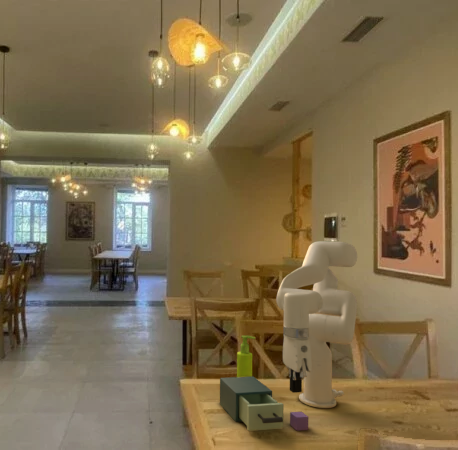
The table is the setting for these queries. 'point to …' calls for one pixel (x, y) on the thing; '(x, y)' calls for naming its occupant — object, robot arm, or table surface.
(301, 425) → the purple rounded cube
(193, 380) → the table surface
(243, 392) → the small teal cabinet
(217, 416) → the table surface
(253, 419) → the drawer
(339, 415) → the table surface
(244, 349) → the soap dispenser
